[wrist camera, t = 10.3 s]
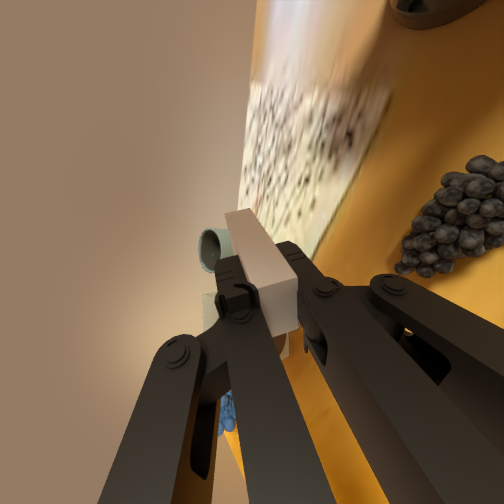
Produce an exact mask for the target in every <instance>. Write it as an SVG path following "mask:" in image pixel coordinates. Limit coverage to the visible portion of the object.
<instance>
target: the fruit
mask: <svg viewBox="0 0 504 504" xmlns="http://www.w3.org/2000/svg"><path fill="white" fill-rule="evenodd" d="M466 170H467V171H468V172H469V173H470V174H463V173H459V172H449V173H446V174H445V175H444V176H443V177H442V178H441V185H442V186H444V187H445V188H441V189H439V190H438V191H437V192H436V193H435V194H434V199H432V200H430V201H428V202H427V203H426V204H425V205H424V206H423V207H422V210H421V211H422V214H423V215H420V216H417V217H415V218H414V219H413V221H412V227H413V230H412V231H411V233H410V235H408V236H405V237H404V238H403V240H402V245H403V246H402V248H401V253H402V254H403V255H402V258H401V259H402V260H401V261H400V262H398V263H397V264H395V267H394V270H395V271H396V273H398V274H400V275H408V274H409V273H411V272H413V271H414V269H415V268H416V272H417V274H418V275H419V276H421V277H423V278H431V277H432V276H433V275H435V274H436V271H437V272H439V273H449V272H452V270H453V267H454V265H455V263H456V262H455V259H454V258H464V257H466V256H467V257H473V258H475V257H480V256H481V255H482V254H483V253H484V252H485V250H491V249H493V248H495V247H500V246H501V245H503V244H504V161H501V162H499V163H497V162H496V161H495V160H493V159H492V158H489V157H487V156H485V155H479V156H476V157H474V158H472V159H470V161H469V162H468V163H467V165H466ZM465 223H466V224H465ZM461 224H465V225H464V227H463V226H462V225H461Z"/></svg>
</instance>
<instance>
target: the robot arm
mask: <svg viewBox="0 0 504 504" xmlns="http://www.w3.org/2000/svg"><path fill="white" fill-rule="evenodd" d="M389 1H390V5H391V7H392V10H393V13H394V15H395V17H396V19H397V20H398V22H399V23H400V24H402V25H403V26H405V27H407V28H410V29H428V28H433V27H437V26H440V25H443V24H446V23H448V22H450V21H453V20H455V19H457V18H459V17H461V16H463V15H465V14H466V13H468V12H470V11H471V10H473V9H475V8H476V7H478V6H479V5H481V4H482V3H484V2H485V1H487V0H389ZM225 218H226V222H227V227H228V231H229V235H230V240H231V244H232V249H233V253H234V256H230V257H226V258H222V259H218V260H217V261H216V264H215V266H214V272H215V277H216V283H217V290H218V292H217V294H216V295H215V300H214V303H215V306H216V309H217V312H218V315H219V318H218V319H217V321H216V322H215V323H214V325H213V326H212V327H210V328H209V329H208V330H206V331H205V332H203V333H202V334H200V335H198V336H197V337H194V336H192V335H187V334H182V335H178V336H175V337H173V338H171V339H170V340H168V341H166V342H165V343H164V344H163V345H162V346H161V347H160V348H159V350H158V351H157V353H156V355H155V356H154V358H153V361H152V364H151V366H150V369H149V371H148V374H147V376H146V379H145V382H144V384H143V387H142V389H141V392H140V395H139V397H138V400H137V402H136V405H135V408H134V410H133V413H132V415H131V418H130V420H129V423H128V426H127V428H126V431H125V433H124V436H123V439H122V441H121V444H120V446H119V449H118V452H117V454H116V457H115V459H114V462H113V465H112V467H111V470H110V472H109V475H108V478H107V480H106V483H105V485H104V488H103V490H102V493H101V496H100V498H99V501H98V503H97V504H211V501H212V491H213V480H214V470H215V459H216V449H217V437H218V428H219V418H220V407H221V397H222V396H224V395H225V394H226V393H227V392H229V391H230V390H232V396H233V403H234V409H235V415H236V422H237V428H238V434H239V441H240V447H241V453H242V459H243V466H244V472H245V478H246V485H247V491H248V497H249V504H337V503H336V501H335V498H334V496H333V493H332V491H331V488H330V485H329V483H328V480H327V478H326V475H325V472H324V470H323V467H322V465H321V462H320V459H319V457H318V454H317V452H316V449H315V446H314V444H313V441H312V439H311V436H310V434H309V431H308V428H307V426H306V423H305V421H304V418H303V415H302V413H301V410H300V408H299V405H298V402H297V400H296V397H295V395H294V392H293V390H292V387H291V384H290V382H289V379H288V377H287V374H286V371H285V369H284V366H283V364H282V361H281V358H280V356H279V353H278V351H277V348H276V345H275V343H274V340H273V338H272V337H275V336H278V335H281V334H284V333H287V332H291V331H294V330H297V329H299V322H300V324H301V326H302V328H303V329H304V350H305V353H308V348H309V350H310V352H311V353H312V355H313V357H314V359H315V361H316V363H317V365H318V367H319V369H320V371H321V373H322V375H323V376H324V378H325V380H326V382H327V384H328V386H329V388H330V390H331V392H332V394H333V396H334V398H335V399H336V401H337V403H338V405H339V407H340V409H341V411H342V413H343V415H344V417H345V419H346V421H347V422H348V424H349V426H350V428H351V430H352V432H353V434H354V436H355V438H356V440H357V442H358V444H359V445H360V447H361V449H362V451H363V453H364V455H365V457H366V459H367V461H368V463H369V465H370V467H371V468H372V470H373V472H374V474H375V476H376V478H377V480H378V482H379V484H380V486H381V488H382V490H383V491H384V493H385V495H386V497H387V499H388V501H389V503H390V504H504V329H502V328H500V327H498V326H496V325H495V324H493V323H491V322H489V321H487V320H485V319H483V318H481V317H479V316H477V315H475V314H474V313H472V312H470V311H468V310H466V309H464V308H462V307H460V306H458V305H456V304H454V303H452V302H451V301H449V300H447V299H445V298H443V297H441V296H439V295H437V294H435V293H433V292H431V291H429V290H428V289H426V288H424V287H422V286H420V285H418V284H416V283H414V282H412V281H410V280H408V279H406V278H404V277H401V276H399V275H394V274H379V275H376V276H374V277H373V278H372V279H371V281H370V285H369V286H344V285H343V284H342V283H340V282H339V281H338V280H336V279H333V278H330V277H324V275H323V274H322V273H321V272H320V271H319V270H318V269H317V267H316V266H315V265H314V264H313V263H312V262H311V261H310V259H309V258H308V257H307V256H306V255H305V254H304V252H302V250H301V249H300V248H299V247H298V246H297V245H296V244H294V243H292V242H290V241H285V242H282V243H278V244H274V242H273V241H272V239H271V238H270V236H269V235H268V234H267V232H266V231H265V229H264V228H263V226H262V225H261V224H260V222H259V221H258V219H257V218H256V216H255V215H254V213H253V212H252V211H251V209H250V208H247V209H243V210H239V211H234V212H230V213H226V214H225ZM298 320H299V322H298ZM405 328H407V329H408V330H410V331H411V332H412V333H410V332H407V331H405Z"/></svg>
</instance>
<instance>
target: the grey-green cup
mask: <svg viewBox="0 0 504 504" xmlns="http://www.w3.org/2000/svg"><path fill="white" fill-rule="evenodd" d="M198 253H199V259H200V263H201V265H202V267H203V268H204V270H205V271H207V272H209V273H215V272H214V266H215V264H216V261H217V260H218V259H222V258H226V257H230V256H234V253H233V249H232V244H231V240H230V235H229V231H228V230H225V229H216V228H207V229H205V230H204V231H203V232H202V234H201V236H200V239H199V246H198Z"/></svg>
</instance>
